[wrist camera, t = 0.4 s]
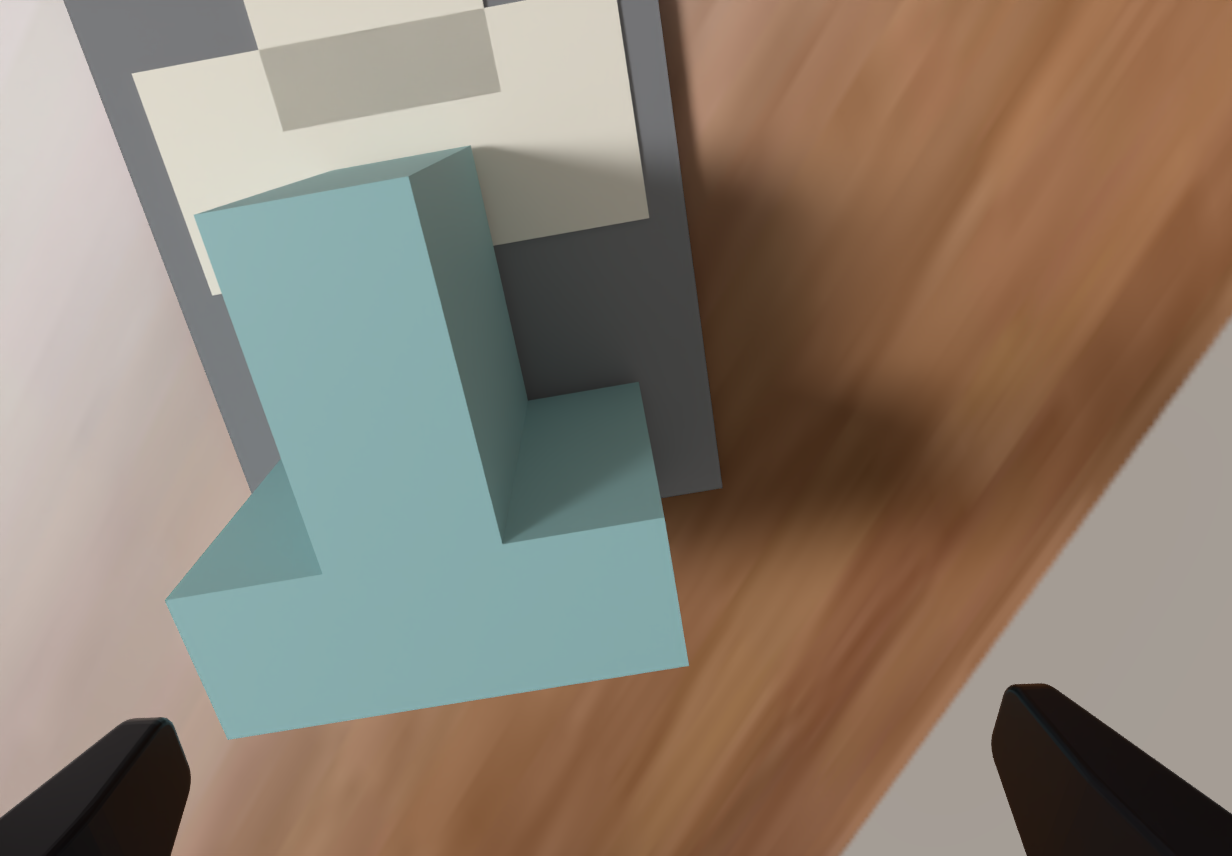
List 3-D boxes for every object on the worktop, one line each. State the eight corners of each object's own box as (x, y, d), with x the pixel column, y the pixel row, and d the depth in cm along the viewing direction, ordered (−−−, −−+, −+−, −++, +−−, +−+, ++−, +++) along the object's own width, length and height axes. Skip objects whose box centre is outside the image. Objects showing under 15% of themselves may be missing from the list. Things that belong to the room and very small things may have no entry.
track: (719, 480, 26) (739, 537, 22) (283, 553, 26) (240, 619, 23) (596, -447, 17) (599, -572, 14) (-45, -318, 18) (-187, -410, 14)
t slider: (657, 493, 25) (688, 665, 17) (332, 547, 25) (227, 739, 18) (595, 122, 21) (601, 141, 13) (209, 192, 21) (5, 248, 14)
